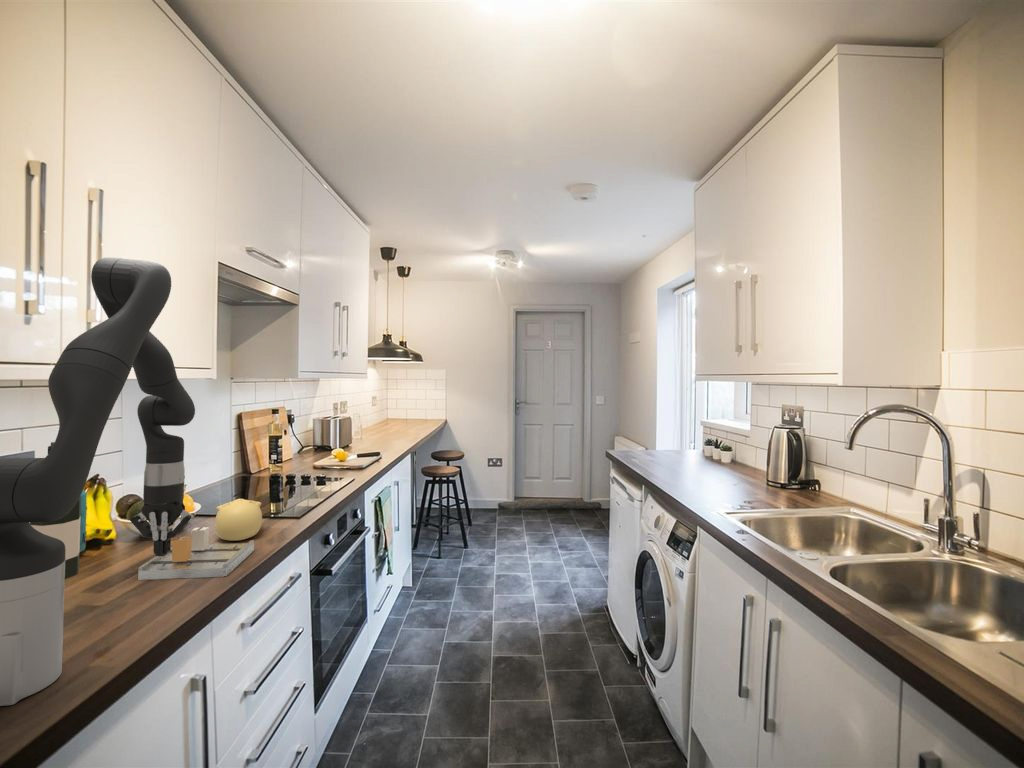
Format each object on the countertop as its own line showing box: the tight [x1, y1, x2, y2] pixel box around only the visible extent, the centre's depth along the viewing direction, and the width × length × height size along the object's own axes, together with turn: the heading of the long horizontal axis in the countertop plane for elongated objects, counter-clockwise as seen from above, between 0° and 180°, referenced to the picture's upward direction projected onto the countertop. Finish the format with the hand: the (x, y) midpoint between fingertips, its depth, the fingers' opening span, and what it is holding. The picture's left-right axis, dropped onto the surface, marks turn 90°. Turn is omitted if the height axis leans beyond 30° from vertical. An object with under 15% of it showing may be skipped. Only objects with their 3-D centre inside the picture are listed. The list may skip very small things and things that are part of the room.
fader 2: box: [190, 526, 210, 551], centre depth 113 cm, size 2×3×5 cm
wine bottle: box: [29, 441, 81, 580], centre depth 101 cm, size 8×8×30 cm
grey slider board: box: [137, 539, 255, 581], centre depth 110 cm, size 16×18×3 cm
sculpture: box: [214, 498, 263, 542], centre depth 129 cm, size 12×12×11 cm
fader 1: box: [171, 536, 192, 562], centre depth 106 cm, size 2×3×5 cm
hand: (162, 555), depth 105 cm, fingers closed
